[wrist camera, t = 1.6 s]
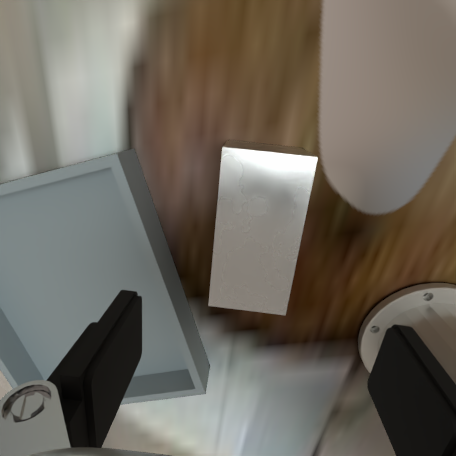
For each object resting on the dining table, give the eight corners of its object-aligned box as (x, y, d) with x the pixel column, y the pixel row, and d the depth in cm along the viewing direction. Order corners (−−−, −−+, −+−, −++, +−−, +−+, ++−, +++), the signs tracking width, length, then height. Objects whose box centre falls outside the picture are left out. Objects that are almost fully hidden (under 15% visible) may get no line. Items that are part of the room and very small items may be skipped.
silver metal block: (278, 276, 29) (285, 315, 23) (216, 268, 29) (208, 305, 23) (301, 147, 24) (317, 157, 19) (228, 139, 24) (222, 147, 19)
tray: (209, 366, 33) (205, 394, 30) (50, 388, 36) (30, 415, 33) (134, 148, 25) (116, 153, 22) (-63, 200, 28) (-104, 212, 25)
